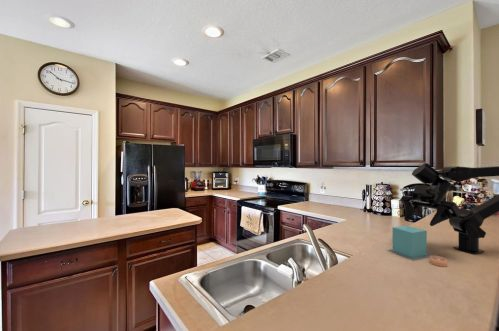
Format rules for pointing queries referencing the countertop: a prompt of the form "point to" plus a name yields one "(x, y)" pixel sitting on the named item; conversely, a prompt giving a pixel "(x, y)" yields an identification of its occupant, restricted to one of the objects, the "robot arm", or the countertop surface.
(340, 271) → the countertop surface
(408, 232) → the teal rectangular block
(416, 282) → the countertop surface
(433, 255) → the mat
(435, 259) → the bowl
